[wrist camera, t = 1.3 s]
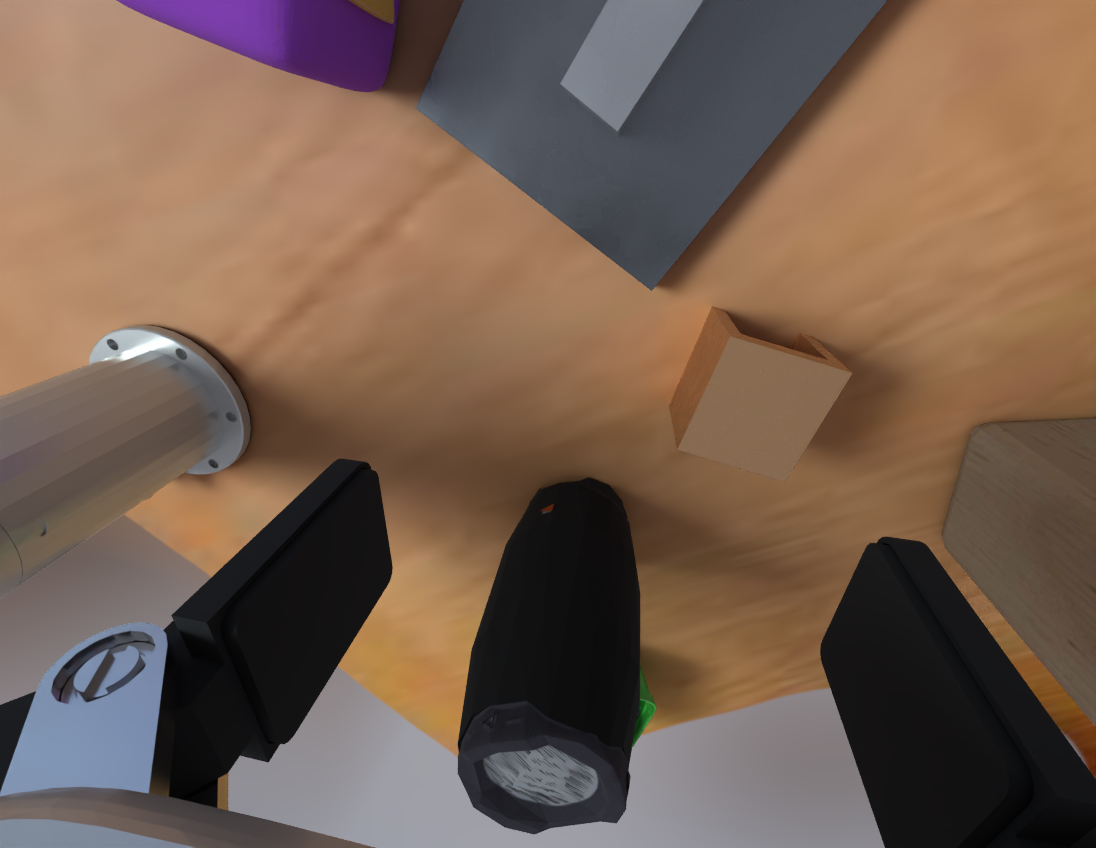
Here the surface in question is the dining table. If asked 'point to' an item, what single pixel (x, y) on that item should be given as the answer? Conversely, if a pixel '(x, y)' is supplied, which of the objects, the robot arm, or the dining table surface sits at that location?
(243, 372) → the dining table surface
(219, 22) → the toy camera
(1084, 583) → the wooden block
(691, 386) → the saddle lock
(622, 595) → the portable speaker
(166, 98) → the dining table surface
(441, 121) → the plate
